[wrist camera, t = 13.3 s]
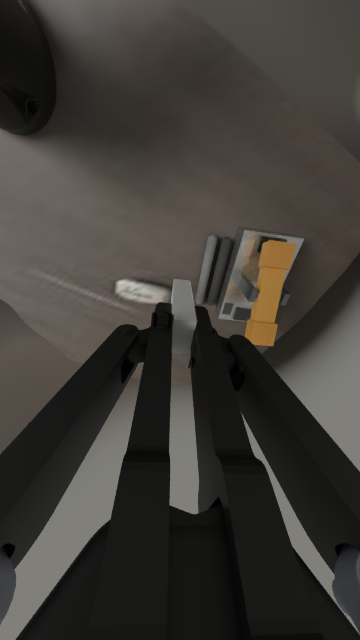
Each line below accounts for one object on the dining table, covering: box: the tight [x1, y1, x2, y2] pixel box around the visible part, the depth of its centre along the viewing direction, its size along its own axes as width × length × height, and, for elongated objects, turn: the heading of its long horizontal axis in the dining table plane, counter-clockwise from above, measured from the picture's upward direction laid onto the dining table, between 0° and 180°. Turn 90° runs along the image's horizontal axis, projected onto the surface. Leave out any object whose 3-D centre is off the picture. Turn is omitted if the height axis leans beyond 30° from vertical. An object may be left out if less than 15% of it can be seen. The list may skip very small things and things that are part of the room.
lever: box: [245, 240, 296, 346], centre depth 35 cm, size 19×5×3 cm, turn 172°
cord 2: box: [207, 237, 231, 305], centre depth 42 cm, size 16×2×2 cm, turn 172°
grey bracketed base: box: [216, 227, 304, 322], centre depth 39 cm, size 20×12×11 cm, turn 172°
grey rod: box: [196, 235, 217, 304], centre depth 42 cm, size 16×2×2 cm, turn 172°
